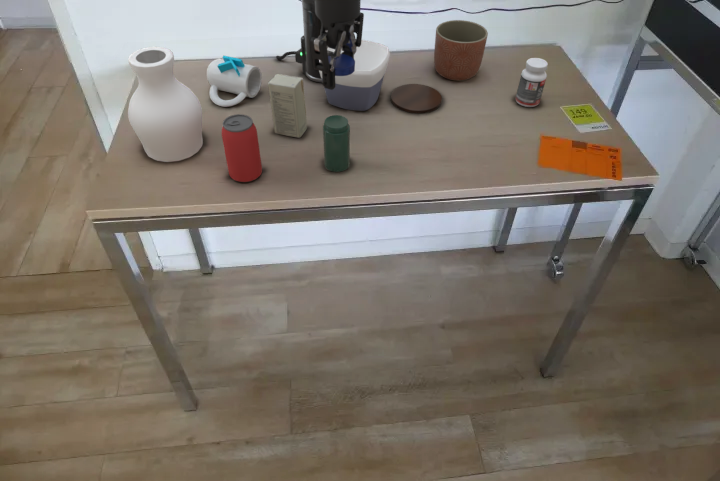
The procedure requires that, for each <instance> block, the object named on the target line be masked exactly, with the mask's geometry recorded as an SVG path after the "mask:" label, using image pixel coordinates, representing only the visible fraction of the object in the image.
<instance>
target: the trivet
mask: <svg viewBox="0 0 720 481" xmlns="http://www.w3.org/2000/svg"><path fill="white" fill-rule="evenodd" d="M442 100H443V97H442V95H441V93H440V91H438V90H437V89H435V88H434V87H432V86H430V85H427V84H421V83H408V84H403V85H400V86H397V87H396V88H394V89H393V90H392V91H391V93H390V102H391V104H392V105H393V106H394V107H395V108H397V109H398V110H400V111H403V112H405V113H410V114H427V113H431V112H433V111H436V110H437V109H439V108H440V107H441V105H442Z"/></svg>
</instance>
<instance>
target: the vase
mask: <svg viewBox="0 0 720 481" xmlns="http://www.w3.org/2000/svg"><path fill="white" fill-rule="evenodd" d="M128 64H129V67H130V69H131V70H132V71H133V72H134V74H135V76H136V77H137V80H138V85H137V87H136V89H135V91H134V92H133V94H132V96H131V97H130V99H129V103H128V109H127V117H128V121H129V124H130V126H131V128H132V130H133V132H134V133H135V135H136V137H137V138H138V139H139V141H140V143H141V145H142V147H143V149H144V152H145V153H146V155H147V157H149V158H151V159H152V160H154V161H157V162H162V163H163V162H164V163H172V162H180V161H183V160H186V159H189V158H191V157H192V156H194V155H195V154H197V153H198V152H199V151H200V150H201V149H202V147H203V144H204V142H203V141H204V140H203V139H204V138H203V109H202V104H201V102H200V99H199V98H198V96H197V95H196V94H195V93H194V92H193V90H192V89H191V88H190V87H189V86H187V85H185V84H184V83H183V82H181V81H180V80H178V79H177V78H176V75H175V73H174V66H175V55H174V53H173V51H172V50H171V49H169V48H167V47H164V46H163V47H162V46H147V47H143V48H140V49H138V50H135V51H133V52H132V53H131V54H130V55H129V56H128Z"/></svg>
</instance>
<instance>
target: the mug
mask: <svg viewBox="0 0 720 481" xmlns="http://www.w3.org/2000/svg"><path fill="white" fill-rule="evenodd" d="M206 80H207V82H208V83H209V85H210V88H209V99H210V100H211V101H212V103H214V105H216V106H219V107H224V108H228V107H234V106H236V105H238V104H239V103H241V102H242V101H243V100H244V99H246V98H252V99H253V98H256V96H257V95H258V94H259V92H260V89H261V88H262V83H263V82H262V80H263V76H262V71H261V69H260V68H259V66H256V65H252V64H247V63H244V61H243V59H242V58H237V57H233V56H227V55H223V56H222V58H215V59H213V60H212V61H211V62H210V63H209V64H208V66H207V69H206ZM218 91H221V92H226V93H230V94H234V95H237V96H235V97H234V98H231V99H222V98H221V97H220V96H219V94H218Z"/></svg>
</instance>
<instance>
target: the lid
mask: <svg viewBox="0 0 720 481" xmlns="http://www.w3.org/2000/svg"><path fill="white" fill-rule="evenodd" d="M328 60H329V63H330V61H331V57H330V56H328ZM334 70H335V76H347V75H350V74H352V73H353V72H354V71H355V60H354V59H353V58H352V57H350V56H348V55H345V54H340V57H339V58H337V60H336V65H335V69H334Z"/></svg>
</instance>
